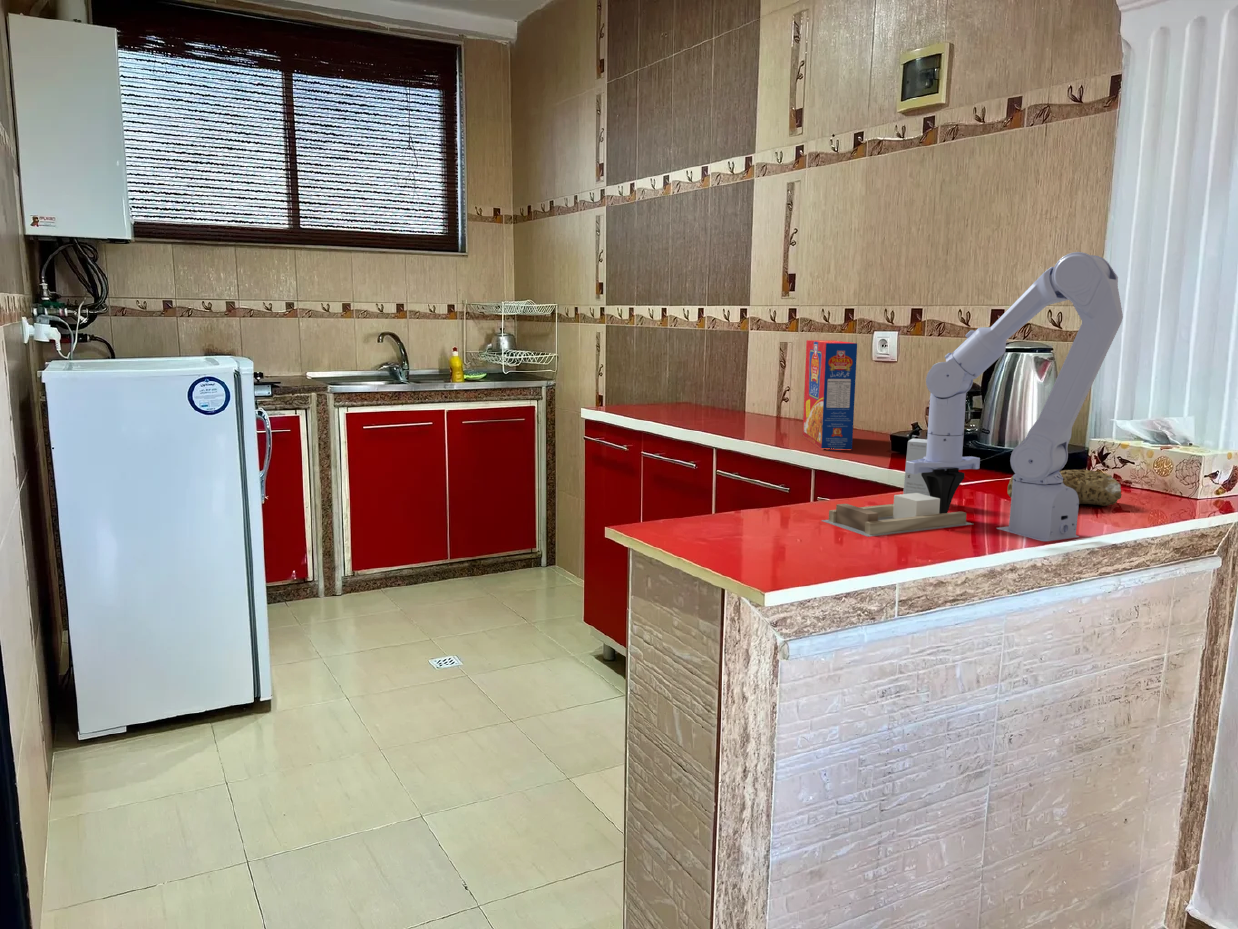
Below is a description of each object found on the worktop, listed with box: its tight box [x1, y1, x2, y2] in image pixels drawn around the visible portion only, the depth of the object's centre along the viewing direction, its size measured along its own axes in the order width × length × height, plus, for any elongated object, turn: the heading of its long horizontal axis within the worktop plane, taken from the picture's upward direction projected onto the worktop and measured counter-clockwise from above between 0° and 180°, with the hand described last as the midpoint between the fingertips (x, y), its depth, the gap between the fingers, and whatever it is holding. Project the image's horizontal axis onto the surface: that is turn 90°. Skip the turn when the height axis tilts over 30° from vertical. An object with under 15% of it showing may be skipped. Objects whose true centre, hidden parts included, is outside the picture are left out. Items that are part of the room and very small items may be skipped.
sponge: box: [1007, 469, 1122, 507], centre depth 165 cm, size 13×8×20 cm
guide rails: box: [828, 503, 967, 535], centre depth 148 cm, size 10×20×3 cm, turn 114°
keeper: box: [893, 493, 940, 519], centre depth 149 cm, size 5×5×4 cm
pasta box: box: [802, 339, 858, 450], centre depth 244 cm, size 28×8×28 cm, turn 178°
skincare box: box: [902, 438, 942, 496], centre depth 164 cm, size 6×4×12 cm
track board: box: [820, 516, 973, 538], centre depth 148 cm, size 12×22×1 cm, turn 114°
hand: (940, 512), depth 152 cm, fingers closed
